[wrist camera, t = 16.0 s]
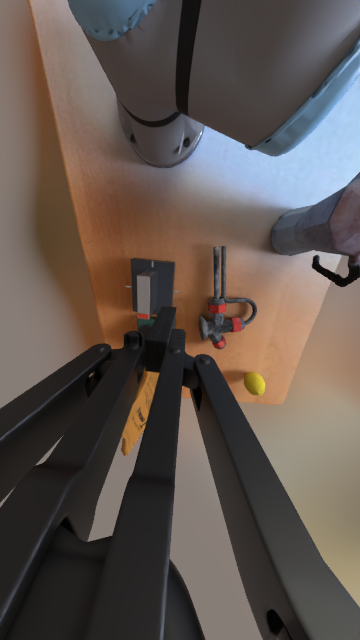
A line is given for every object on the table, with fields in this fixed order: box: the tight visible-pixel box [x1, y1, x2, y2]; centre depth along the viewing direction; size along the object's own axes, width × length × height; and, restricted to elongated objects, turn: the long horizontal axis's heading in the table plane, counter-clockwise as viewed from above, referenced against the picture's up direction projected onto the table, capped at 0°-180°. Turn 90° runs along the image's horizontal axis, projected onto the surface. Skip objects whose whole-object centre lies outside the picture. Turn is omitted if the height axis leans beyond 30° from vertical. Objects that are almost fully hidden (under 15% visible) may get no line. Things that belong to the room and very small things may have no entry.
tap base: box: [126, 258, 179, 314], centre depth 42 cm, size 13×13×3 cm
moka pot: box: [271, 173, 360, 287], centre depth 27 cm, size 10×15×20 cm, turn 12°
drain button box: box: [138, 317, 156, 330], centre depth 47 cm, size 10×8×4 cm
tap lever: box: [137, 270, 158, 319], centre depth 37 cm, size 9×2×8 cm, turn 175°
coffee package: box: [121, 368, 159, 456], centre depth 45 cm, size 10×12×22 cm
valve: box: [199, 246, 257, 349], centre depth 41 cm, size 6×26×15 cm
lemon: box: [244, 372, 265, 395], centre depth 49 cm, size 6×6×8 cm
